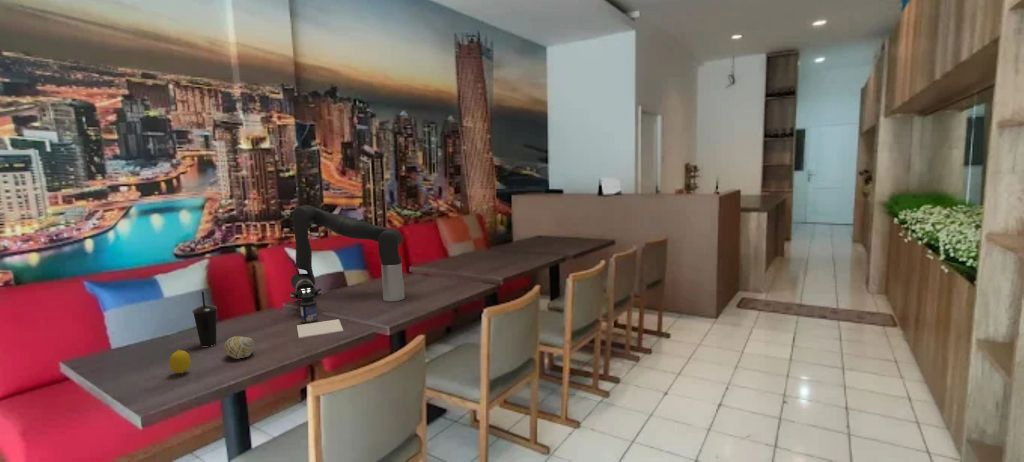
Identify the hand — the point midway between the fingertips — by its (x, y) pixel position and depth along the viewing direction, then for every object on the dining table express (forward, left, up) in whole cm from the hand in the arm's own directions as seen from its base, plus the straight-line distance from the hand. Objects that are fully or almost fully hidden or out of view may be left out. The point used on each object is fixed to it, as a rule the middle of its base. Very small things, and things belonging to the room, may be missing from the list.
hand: (307, 298), depth 210 cm
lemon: (+40, +39, -9) cm, 57 cm away
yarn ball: (+24, +31, -9) cm, 40 cm away
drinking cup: (+35, +14, -9) cm, 39 cm away
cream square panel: (-3, +15, -9) cm, 18 cm away
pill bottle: (0, +3, -9) cm, 10 cm away
